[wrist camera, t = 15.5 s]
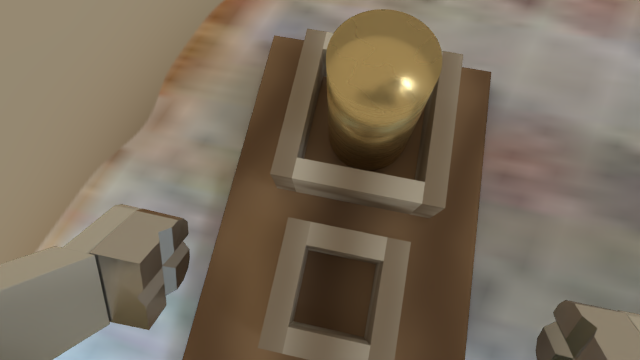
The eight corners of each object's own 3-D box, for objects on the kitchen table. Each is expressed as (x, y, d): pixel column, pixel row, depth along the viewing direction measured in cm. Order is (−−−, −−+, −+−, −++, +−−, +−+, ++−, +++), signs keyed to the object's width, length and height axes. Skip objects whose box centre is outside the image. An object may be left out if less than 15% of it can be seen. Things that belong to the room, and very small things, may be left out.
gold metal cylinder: (410, 103, 24) (446, 15, 16) (402, 175, 23) (437, 116, 15) (335, 93, 24) (335, 3, 17) (322, 164, 23) (316, 100, 15)
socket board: (483, 81, 26) (513, 43, 22) (449, 434, 20) (480, 472, 16) (276, 46, 27) (267, 4, 23) (185, 371, 21) (152, 391, 17)
